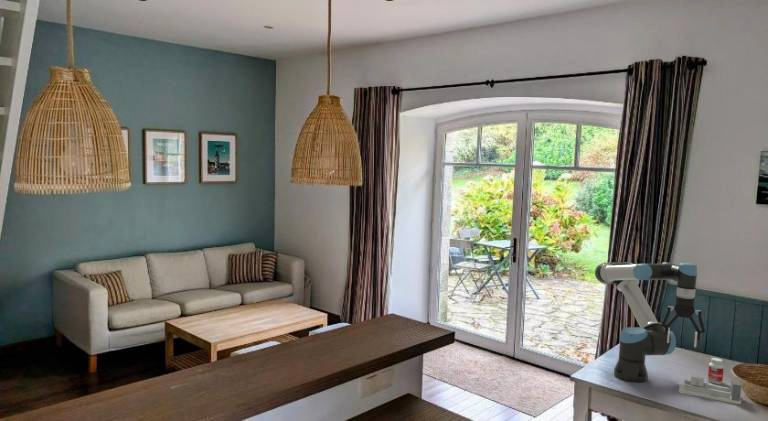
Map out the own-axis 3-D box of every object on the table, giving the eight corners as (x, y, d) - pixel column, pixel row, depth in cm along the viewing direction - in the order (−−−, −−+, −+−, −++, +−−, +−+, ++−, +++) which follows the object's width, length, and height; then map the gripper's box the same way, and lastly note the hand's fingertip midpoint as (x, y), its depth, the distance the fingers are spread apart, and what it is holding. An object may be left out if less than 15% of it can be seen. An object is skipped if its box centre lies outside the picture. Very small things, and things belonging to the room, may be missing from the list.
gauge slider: (690, 391, 256) (691, 378, 256) (690, 386, 263) (691, 373, 262) (707, 394, 253) (708, 381, 253) (707, 389, 260) (708, 376, 259)
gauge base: (678, 392, 259) (680, 374, 258) (679, 385, 267) (680, 368, 267) (740, 404, 247) (742, 386, 247) (739, 396, 256) (740, 378, 255)
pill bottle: (708, 382, 272) (710, 360, 271) (706, 378, 278) (708, 356, 277) (723, 385, 269) (725, 362, 269) (721, 380, 275) (723, 358, 274)
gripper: (657, 295, 262) (653, 342, 264) (714, 302, 251) (710, 351, 253) (657, 291, 268) (654, 337, 270) (714, 299, 258) (709, 346, 260)
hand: (681, 344), depth 262 cm, fingers open, 10 cm apart
